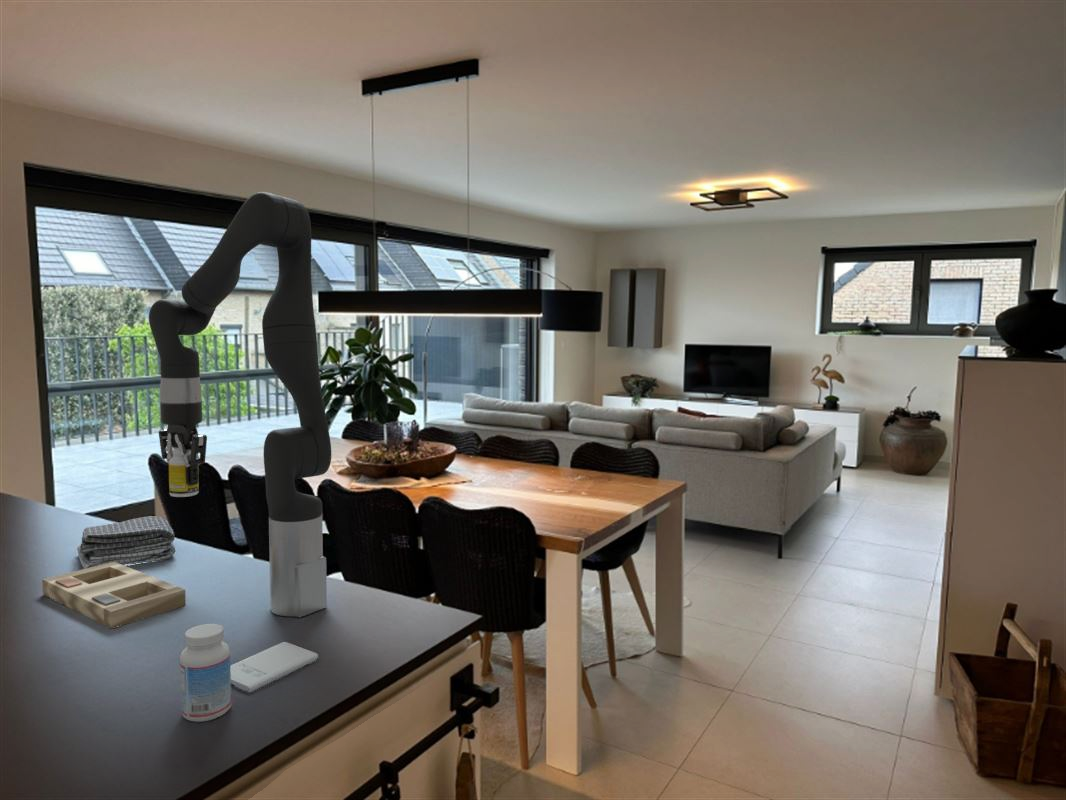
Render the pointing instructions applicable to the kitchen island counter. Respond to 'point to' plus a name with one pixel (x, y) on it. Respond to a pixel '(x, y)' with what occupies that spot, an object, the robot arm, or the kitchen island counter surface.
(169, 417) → the robot arm
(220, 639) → the pill bottle
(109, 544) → the towel
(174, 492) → the supplement bottle
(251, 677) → the external hard drive
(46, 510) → the kitchen island counter surface
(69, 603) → the socket holder
